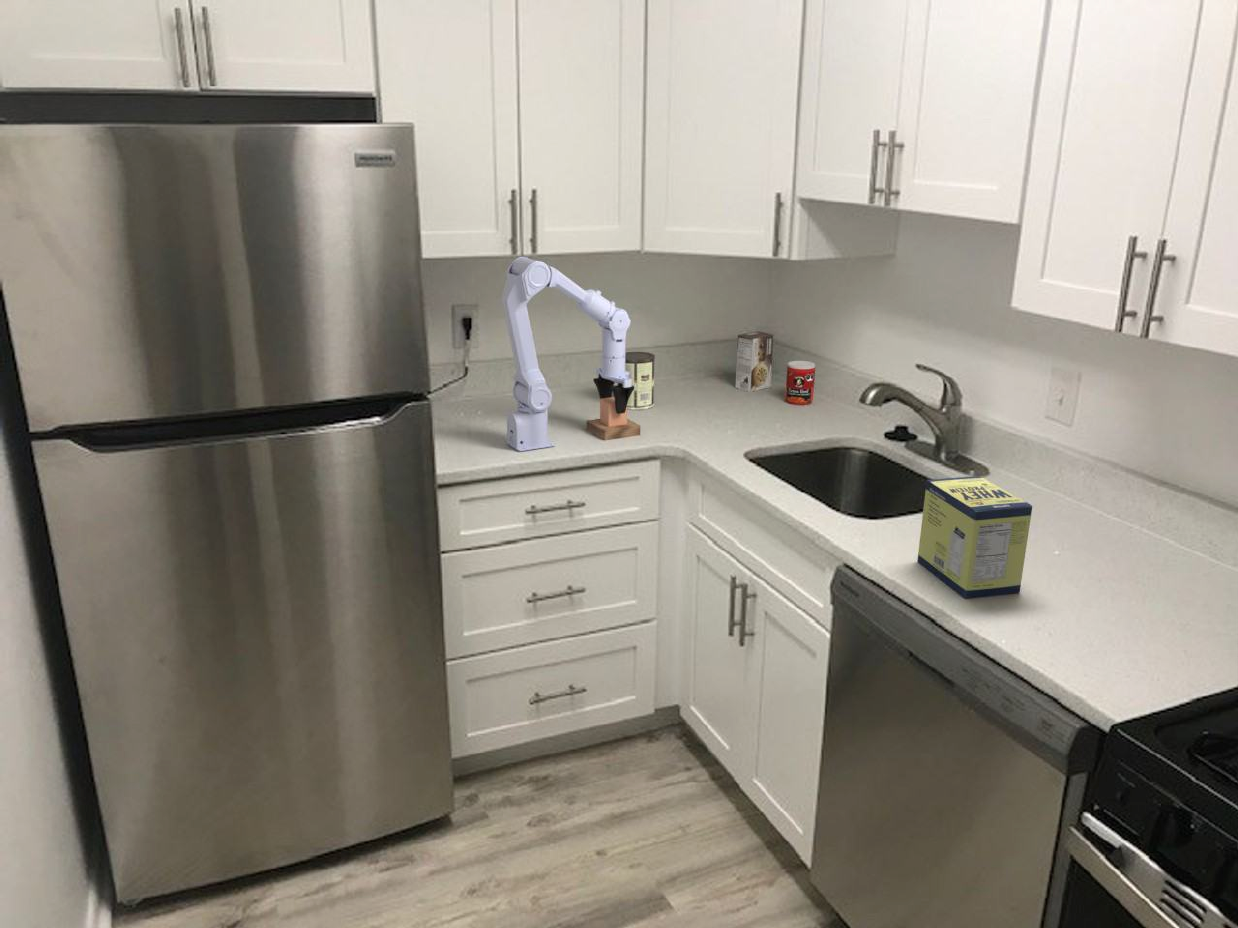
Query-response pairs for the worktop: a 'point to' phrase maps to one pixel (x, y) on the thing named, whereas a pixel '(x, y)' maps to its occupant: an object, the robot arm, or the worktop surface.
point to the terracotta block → (611, 413)
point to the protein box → (974, 536)
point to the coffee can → (640, 379)
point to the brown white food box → (754, 361)
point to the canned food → (800, 382)
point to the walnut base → (612, 429)
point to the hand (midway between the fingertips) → (613, 409)
